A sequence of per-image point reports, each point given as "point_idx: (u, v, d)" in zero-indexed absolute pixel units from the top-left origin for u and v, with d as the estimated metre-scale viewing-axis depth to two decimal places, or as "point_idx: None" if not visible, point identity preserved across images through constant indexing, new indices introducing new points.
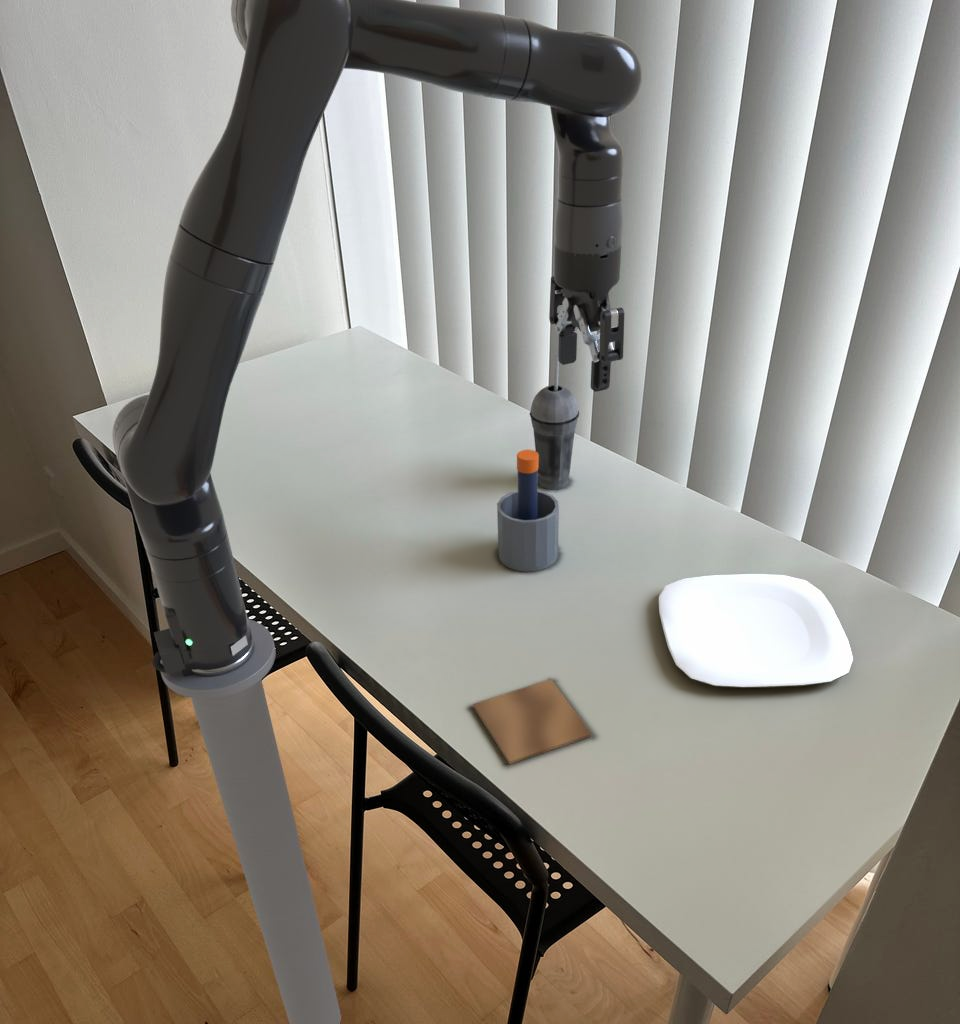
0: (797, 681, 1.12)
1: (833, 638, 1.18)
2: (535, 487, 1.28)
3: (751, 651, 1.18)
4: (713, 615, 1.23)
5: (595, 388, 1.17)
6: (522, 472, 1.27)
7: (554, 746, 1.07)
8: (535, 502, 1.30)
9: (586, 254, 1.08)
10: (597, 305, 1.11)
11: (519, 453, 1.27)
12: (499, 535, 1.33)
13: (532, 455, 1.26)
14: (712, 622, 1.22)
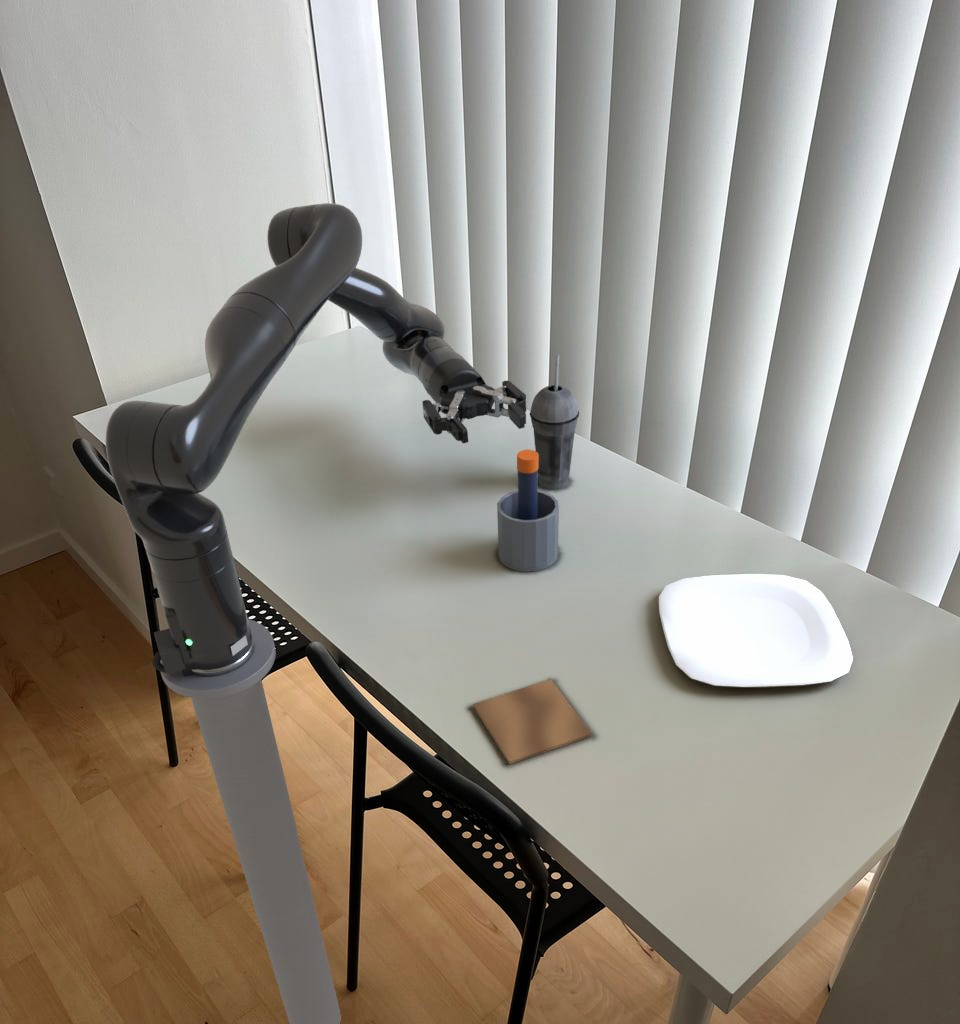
0: (797, 681, 1.12)
1: (833, 638, 1.18)
2: (535, 487, 1.28)
3: (751, 651, 1.18)
4: (713, 615, 1.23)
5: None
6: (522, 472, 1.27)
7: (554, 746, 1.07)
8: (535, 502, 1.30)
9: None
10: None
11: (519, 453, 1.27)
12: (499, 535, 1.33)
13: (532, 455, 1.26)
14: (712, 622, 1.22)
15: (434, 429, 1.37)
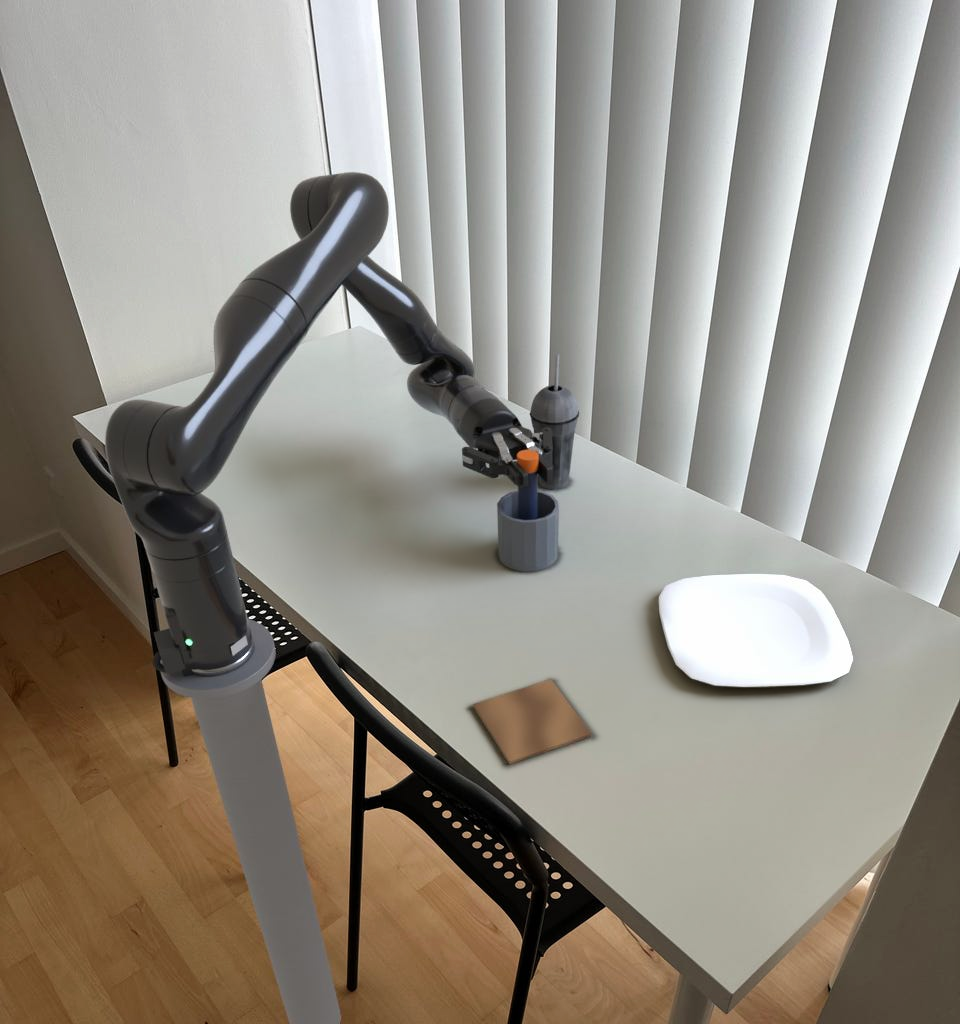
0: (797, 681, 1.12)
1: (833, 638, 1.18)
2: (535, 487, 1.28)
3: (751, 651, 1.18)
4: (713, 615, 1.23)
5: (550, 468, 1.26)
6: None
7: (554, 746, 1.07)
8: (535, 502, 1.30)
9: None
10: (530, 431, 1.34)
11: (519, 453, 1.27)
12: (499, 535, 1.33)
13: (532, 455, 1.26)
14: (712, 621, 1.22)
15: (492, 473, 1.28)
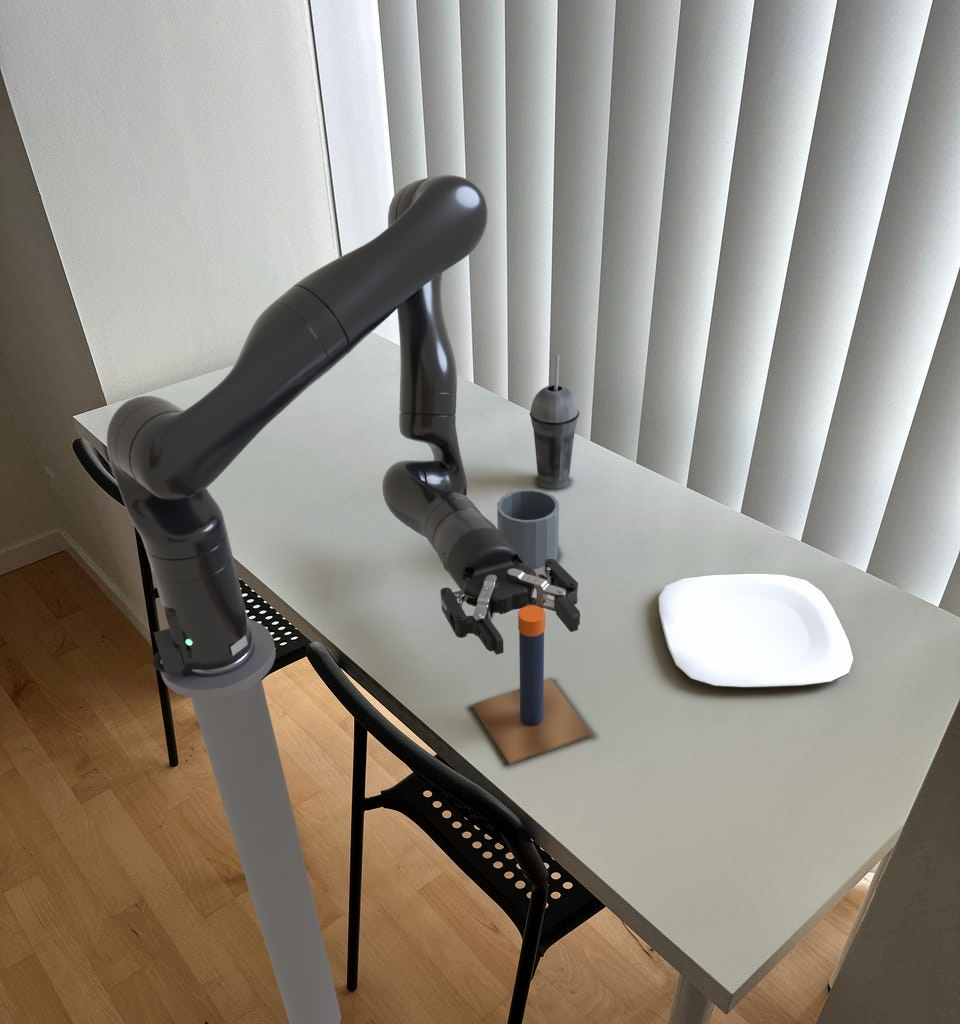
0: (797, 681, 1.12)
1: (833, 638, 1.18)
2: (541, 650, 1.03)
3: (751, 651, 1.18)
4: (713, 615, 1.23)
5: None
6: (525, 635, 1.01)
7: (554, 746, 1.07)
8: (541, 667, 1.05)
9: (502, 535, 1.12)
10: (530, 568, 1.08)
11: (521, 611, 1.01)
12: None
13: (538, 615, 1.01)
14: (712, 622, 1.22)
15: (457, 631, 1.02)
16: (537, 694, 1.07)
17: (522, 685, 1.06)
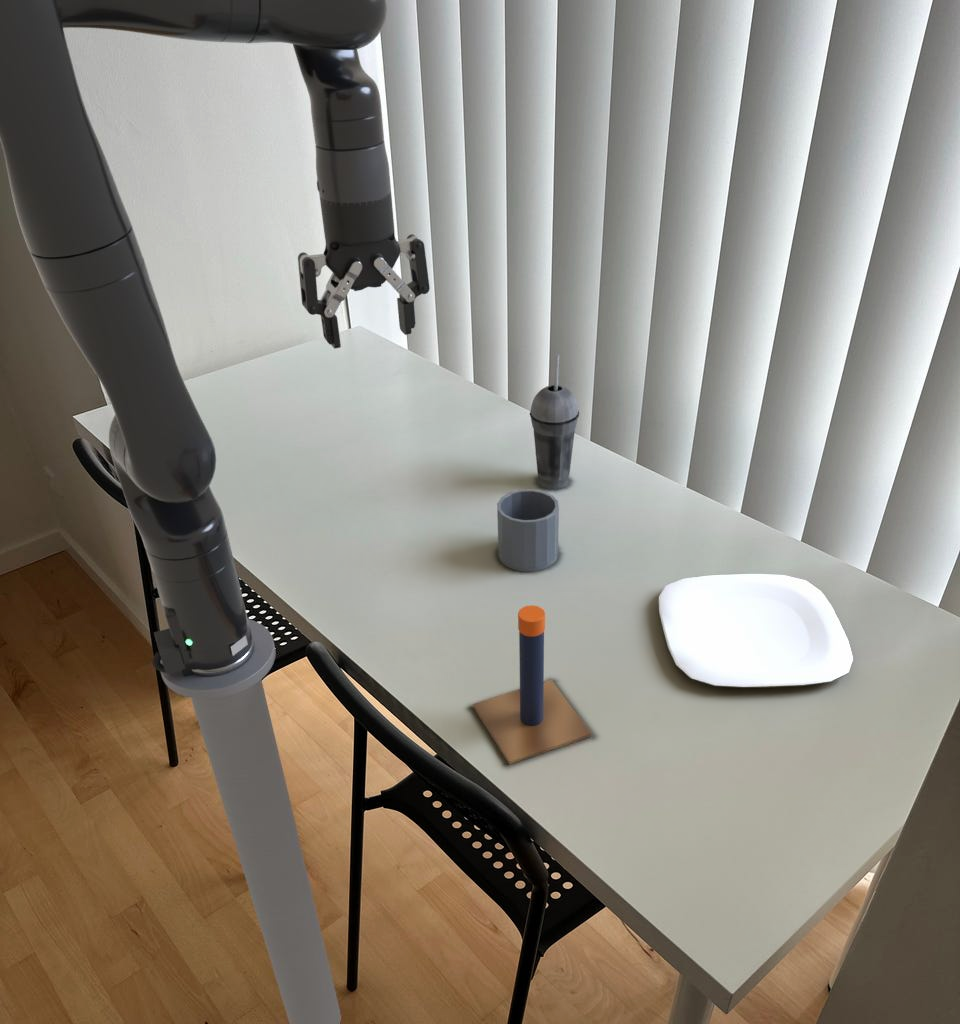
0: (797, 681, 1.12)
1: (833, 638, 1.18)
2: (541, 650, 1.03)
3: (751, 651, 1.18)
4: (713, 615, 1.23)
5: None
6: (525, 635, 1.01)
7: (554, 746, 1.07)
8: (541, 667, 1.05)
9: (390, 193, 1.02)
10: (398, 243, 1.07)
11: (521, 611, 1.01)
12: (499, 535, 1.33)
13: (538, 615, 1.01)
14: (712, 621, 1.22)
15: (304, 306, 1.08)
16: (537, 694, 1.07)
17: (522, 685, 1.06)
